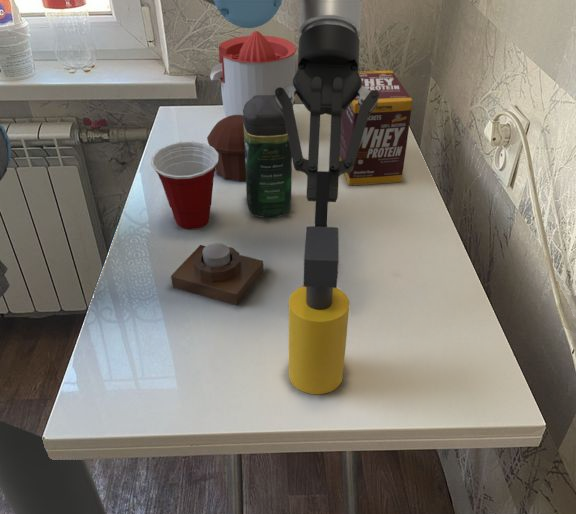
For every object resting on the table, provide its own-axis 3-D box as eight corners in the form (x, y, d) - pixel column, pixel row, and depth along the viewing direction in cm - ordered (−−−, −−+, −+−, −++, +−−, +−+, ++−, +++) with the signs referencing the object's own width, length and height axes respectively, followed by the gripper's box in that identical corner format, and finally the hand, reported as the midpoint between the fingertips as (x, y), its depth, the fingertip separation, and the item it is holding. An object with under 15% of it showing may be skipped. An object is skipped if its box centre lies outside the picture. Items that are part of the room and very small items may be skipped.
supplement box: (348, 186, 116) (354, 103, 105) (333, 150, 127) (337, 71, 116) (402, 183, 116) (414, 100, 106) (383, 147, 128) (391, 68, 117)
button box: (172, 287, 93) (168, 265, 90) (201, 256, 99) (199, 234, 96) (237, 306, 90) (236, 284, 87) (263, 272, 96) (263, 250, 93)
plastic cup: (152, 236, 103) (141, 169, 95) (170, 203, 111) (161, 139, 103) (216, 241, 102) (210, 174, 94) (229, 207, 110) (225, 143, 102)
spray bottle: (290, 349, 83) (291, 222, 70) (342, 351, 83) (353, 224, 69) (287, 393, 77) (287, 264, 64) (343, 395, 77) (355, 266, 64)
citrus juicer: (211, 119, 137) (203, 21, 124) (288, 114, 140) (288, 17, 126) (218, 150, 126) (210, 46, 112) (302, 144, 129) (303, 41, 115)
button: (198, 264, 91) (197, 254, 90) (211, 250, 94) (210, 240, 93) (222, 270, 90) (221, 261, 89) (235, 256, 93) (234, 246, 92)
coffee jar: (294, 218, 107) (295, 112, 94) (248, 221, 107) (243, 115, 94) (288, 191, 114) (288, 89, 101) (245, 193, 114) (240, 91, 101)
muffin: (258, 187, 115) (256, 136, 108) (202, 181, 117) (196, 129, 110) (274, 159, 123) (273, 109, 117) (221, 153, 125) (217, 104, 118)
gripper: (379, 54, 80) (371, 236, 79) (278, 52, 80) (269, 232, 80) (385, 22, 72) (377, 222, 72) (274, 19, 73) (265, 218, 72)
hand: (320, 227), depth 76 cm, fingers closed
